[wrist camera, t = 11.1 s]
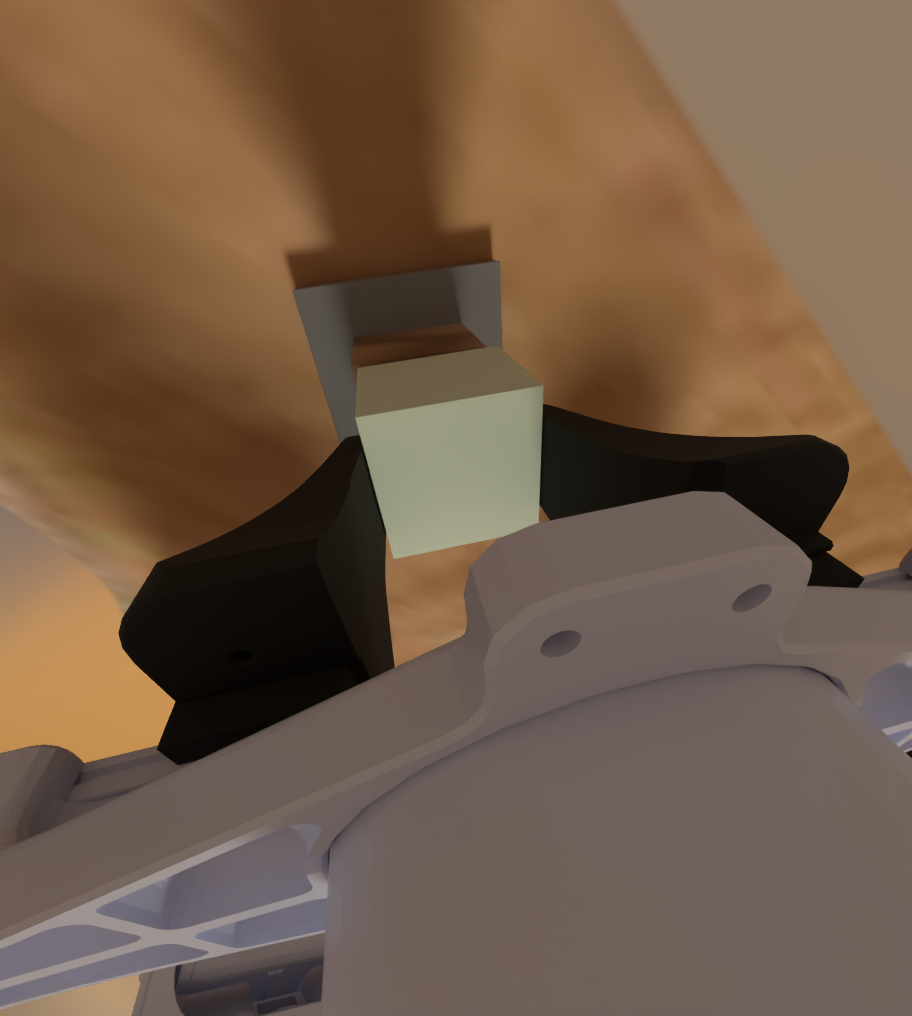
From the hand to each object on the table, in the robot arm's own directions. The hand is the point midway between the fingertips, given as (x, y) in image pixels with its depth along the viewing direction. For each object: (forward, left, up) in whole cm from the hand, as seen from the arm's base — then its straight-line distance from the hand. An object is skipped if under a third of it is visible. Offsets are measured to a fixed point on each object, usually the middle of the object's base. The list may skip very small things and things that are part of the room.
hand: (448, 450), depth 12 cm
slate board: (0, 0, -8) cm, 8 cm away
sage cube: (0, 0, -2) cm, 2 cm away
